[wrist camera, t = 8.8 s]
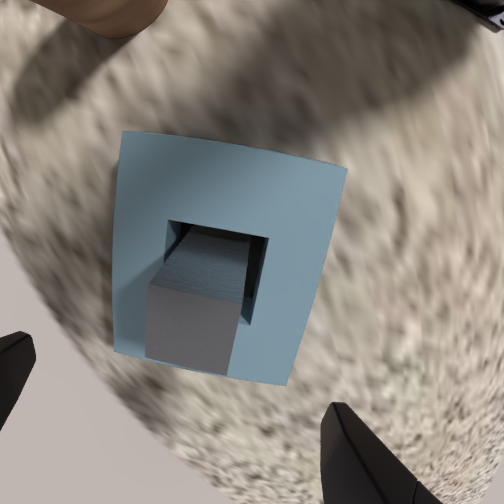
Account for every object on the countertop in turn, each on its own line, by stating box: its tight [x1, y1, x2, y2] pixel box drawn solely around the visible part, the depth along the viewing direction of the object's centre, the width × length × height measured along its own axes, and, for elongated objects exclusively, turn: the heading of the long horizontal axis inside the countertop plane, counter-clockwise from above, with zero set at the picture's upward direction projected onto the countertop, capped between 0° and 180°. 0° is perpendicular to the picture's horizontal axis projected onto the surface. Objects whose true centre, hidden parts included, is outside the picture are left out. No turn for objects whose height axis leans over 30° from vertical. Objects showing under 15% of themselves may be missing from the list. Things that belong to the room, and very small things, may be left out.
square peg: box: [145, 224, 251, 376], centre depth 14 cm, size 3×3×8 cm
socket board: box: [112, 131, 347, 386], centre depth 16 cm, size 10×12×3 cm
